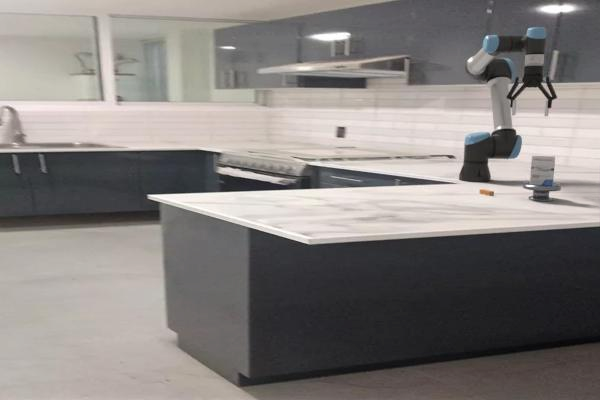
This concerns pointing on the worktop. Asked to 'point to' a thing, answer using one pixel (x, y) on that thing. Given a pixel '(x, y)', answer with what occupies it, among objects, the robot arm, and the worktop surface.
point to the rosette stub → (541, 191)
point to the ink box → (542, 170)
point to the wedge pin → (486, 192)
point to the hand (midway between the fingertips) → (529, 115)
